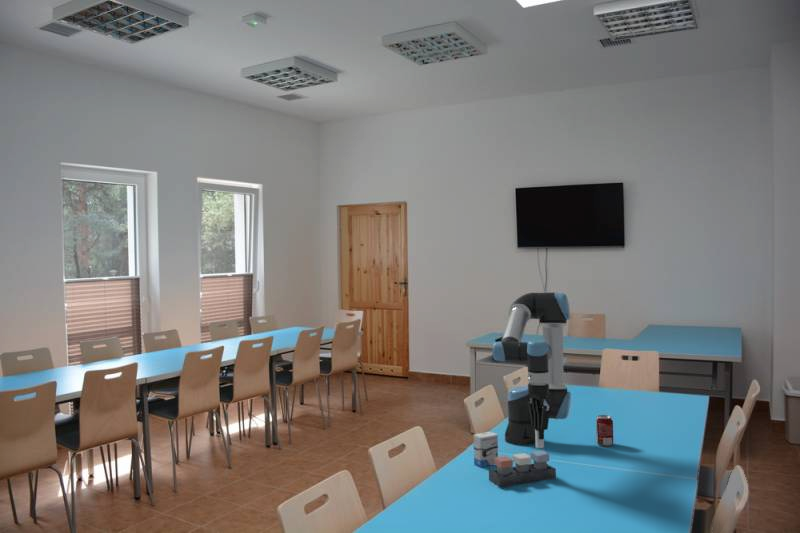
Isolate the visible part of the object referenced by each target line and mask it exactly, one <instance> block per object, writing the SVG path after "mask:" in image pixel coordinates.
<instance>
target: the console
mask: <svg viewBox="0 0 800 533" xmlns="http://www.w3.org/2000/svg"><path fill="white" fill-rule="evenodd" d="M554 479H557V469H556V468H555V467H553V466H551V465H549V464H548V463H547V469H542V470H538V469H536V468H535V467H534V463H531V464H529V472H523V473H520V472H518V471H517V470H516V466H513V467H510V475H504V476H501V475H500V474H499V473H497V469H496V468H495V469H491V470H488V481H489V480H490V482H491V483H492V482H493V483H494V484H493V485H495V486H496V485H497V486H498V488H499V489H501V488H500V487H502V488H507V487H511V486H512V487H513V486H519V485H520V486H521V485H526V484H530V483H532V484H533V483H536V482H537V483H538V482H543V481H550V480H554ZM497 486H496V487H497Z"/></svg>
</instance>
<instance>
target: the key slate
mask: <svg viewBox="0 0 800 533" xmlns="http://www.w3.org/2000/svg"><path fill="white" fill-rule="evenodd" d="M530 457H531V460H533V464H534V467H535V468H536V469H538V470H542V469H547V464H548V463H547V462H549V461H550V453H548V452H545V451H544V450H538V451H537V450H536V451H531V452H530Z"/></svg>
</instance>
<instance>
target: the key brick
mask: <svg viewBox="0 0 800 533" xmlns="http://www.w3.org/2000/svg"><path fill="white" fill-rule="evenodd" d="M494 461H495V466H496V468H497V473H499V474H500V475H501V476H504V475H510V467H514V465H513V464H514V462H513V458H510V456H507V455H502V456H498V457H494Z"/></svg>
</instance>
